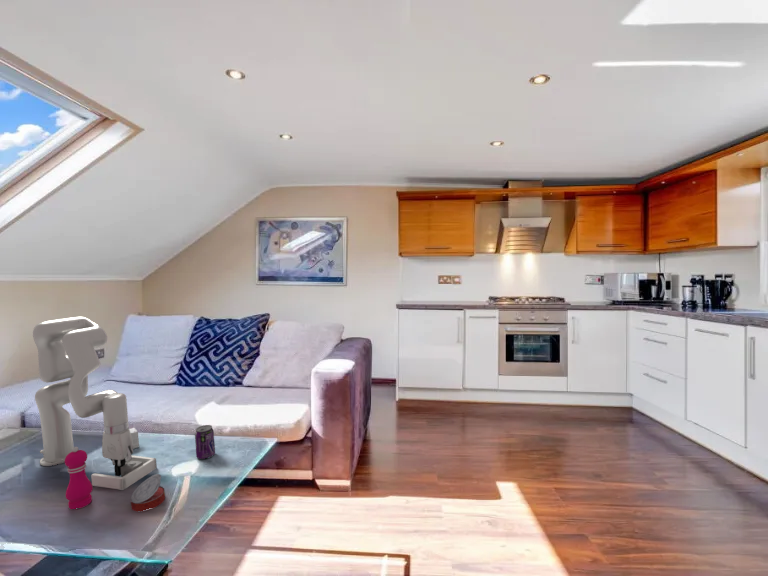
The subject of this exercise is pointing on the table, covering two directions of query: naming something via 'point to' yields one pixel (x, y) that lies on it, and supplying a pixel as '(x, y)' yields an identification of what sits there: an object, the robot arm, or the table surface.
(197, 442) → the beverage can
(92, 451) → the table surface
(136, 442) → the skincare box
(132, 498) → the canned food
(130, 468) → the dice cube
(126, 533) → the table surface
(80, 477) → the pepper mill
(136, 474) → the box
